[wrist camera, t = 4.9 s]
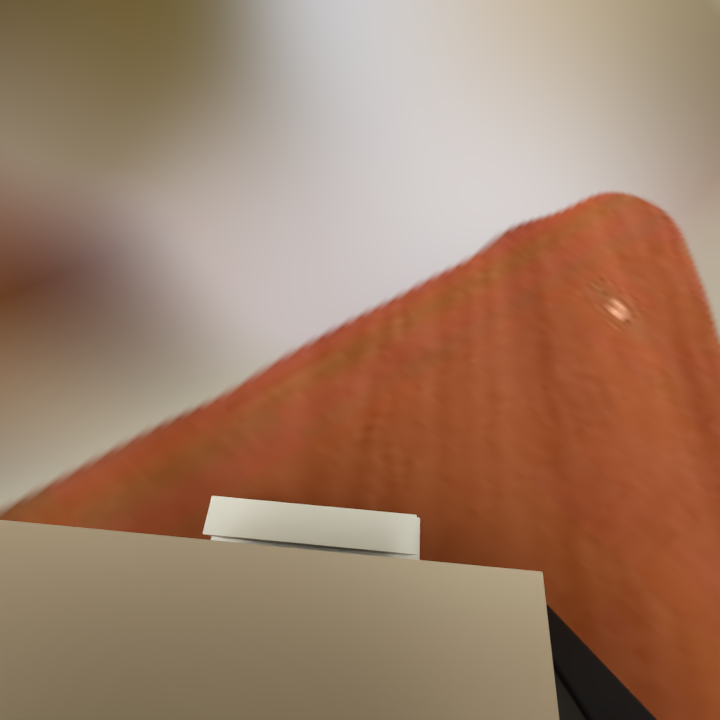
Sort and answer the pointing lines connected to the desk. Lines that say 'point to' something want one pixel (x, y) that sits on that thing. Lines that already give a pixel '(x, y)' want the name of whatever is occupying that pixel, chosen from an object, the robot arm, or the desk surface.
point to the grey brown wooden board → (261, 632)
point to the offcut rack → (313, 527)
